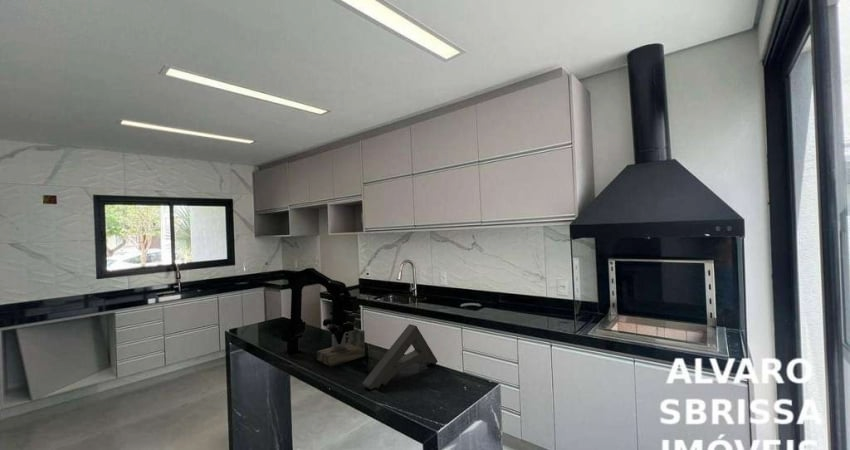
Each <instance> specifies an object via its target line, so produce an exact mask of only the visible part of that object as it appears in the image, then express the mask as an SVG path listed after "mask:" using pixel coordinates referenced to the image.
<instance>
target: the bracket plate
mask: <svg viewBox="0 0 850 450" xmlns="http://www.w3.org/2000/svg"><path fill="white" fill-rule="evenodd" d="M331 347H332V351H333V352H336V351H340V350H343V349H346V332H345V333H344V335H343V338H342V341H341V344H338V341H337V338H336V334H335V333H333V334H331Z"/></svg>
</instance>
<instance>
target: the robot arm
mask: <svg viewBox="0 0 850 450" xmlns="http://www.w3.org/2000/svg"><path fill="white" fill-rule="evenodd" d="M307 279H310V280H312V281H314V282H315V283H317V284H319V285H321V286H322V287H324V288H325V289H326V291H327V293H329V294H330V297H328V298H327V301H331V312H330V311H329V315H330V316H331V318H325V319H323V321H322V326H323V327H327V326H328V325H329V327H327V329H328V331H329V332H330V334H331V335H332V334H333V333H335V334H336V338H337V341H338V344H341V341H342V338H343V335H344V333H345V334H346V333H348V332H349V331H353V330H354V327H355V325H354V324H355V320H356V316H354V315H352V314H350V312H358V311H359V309H360V306H361V303H360V301H359V299H358V296H357V295H354V296H353V295H351V293H350V291H349V290H348V287H347V285H346V283H345V282H342V281H340V280H336V279H331V278H330V277H328V276H326V275H325V274H323V273H322V272H320V271H318V270H316V268H314V267H307V268H304V269H302V270H300V271H295V272H294V271H293V272H290V273H289V274H288V275H287V281H288V282H287V284H288V287H289V288H290V290H291V291H290V293H291V294H290V295H291V296H290V319H289V320H288V323H287V326H286V330H285V332H284V333H283V334H282V335H281V340H282V342H285V344H286V346H285V349H284V350H283V352H284V353H285V354H287V355H293V354H297V353H300V352H302V349H301V348H299V346H300V345H299V339H300V338H303V335H304V333H305V331H306V321H304V320H303V319H302V302H303V301H302V300H303V290H304V287H305V285H306V282H307Z"/></svg>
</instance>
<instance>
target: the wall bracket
mask: <svg viewBox="0 0 850 450" xmlns="http://www.w3.org/2000/svg"><path fill="white" fill-rule="evenodd" d="M411 346H412V347H413V349H414V350H412V351H410V352H408V353H407V351H408V350H409V348H410V347H411ZM405 353H407V354H405ZM421 362H424V363H427V364H430V363H432V365H434V364H435V365H434V366H436V365H437V363H438V359H437V358H436V356H435V355H434V352H433V350H432V349H431V347H430V345H429V344H428V343H427V341H426V339H425V337H424V335H423V334H422V333H421V331H420V330H419V328H418V327H417V325H414V324H410V323H409V324H408V325H407V326H406V327H405V329H404V330H403V331H402V333H401V334H400V335H399V336H398V338H397V339H396V340H395V341H394V342H393V344H392V345H391V346H390V347H389V349H388V350H387V351H386V353H384V355H383V356H382V358H380V360H379V361H378V362H377V364H375V366H374V367H373V368H372V370H371V371H370V373H369V374H368V375H367V376H366V377H365V379H364V380H363V381H362V382H361V384H362V385H363V386H364V387H366V388H367V389H370V390H373V389H375V388H376V389H379V388H380V387H381V386H386V385H387V384H388V383H389V382H390V381H391V380H392V379H393V378H394V377H395V376H396V375H397V374H398V373H400V372H401V371H403V370H404V369H405V368H407V367H409V366H411V365H414V364H417V363H421Z"/></svg>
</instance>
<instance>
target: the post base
mask: <svg viewBox="0 0 850 450" xmlns="http://www.w3.org/2000/svg"><path fill="white" fill-rule="evenodd" d="M365 332H366V331H365V330H364V329H360V328H357V327H355V326H354V330H353V331H349V332H347V343H346V342H345V343H346V349H343V350H340V351H336V352H333V351H332V346H331V347H327V348H324V349H321V350H317V351H316V352H317V357H316V358H317V361H318V362H320V363H323V364H324V365H326V366H328V367H330V368H332V367H334V366H337V365H340V364H344V363H346V362H350V361H353V360H356V359H360V358H362V357H365V356H366V355H365V354H366V353H365V352H366V348H365V346H366V345H365V344H366V343H365V341H366V340H365V337H366V335H365Z"/></svg>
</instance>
